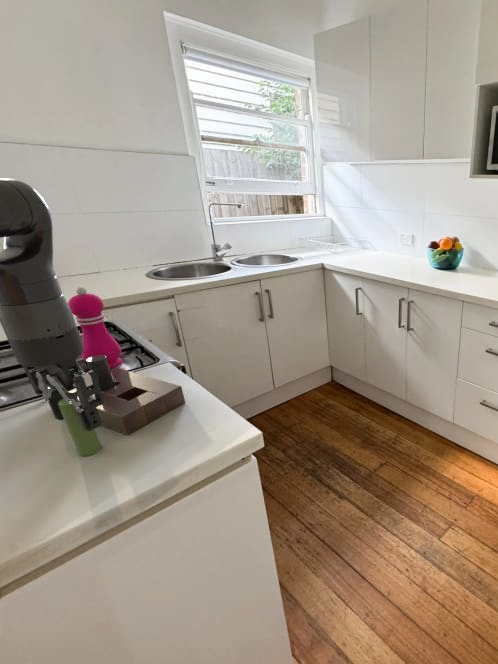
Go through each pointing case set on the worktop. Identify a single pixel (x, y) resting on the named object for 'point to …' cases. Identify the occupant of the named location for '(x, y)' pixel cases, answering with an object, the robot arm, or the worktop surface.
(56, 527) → the worktop surface
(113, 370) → the peg block
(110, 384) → the charcoal peg
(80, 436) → the green peg
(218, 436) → the worktop surface
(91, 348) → the pepper mill
